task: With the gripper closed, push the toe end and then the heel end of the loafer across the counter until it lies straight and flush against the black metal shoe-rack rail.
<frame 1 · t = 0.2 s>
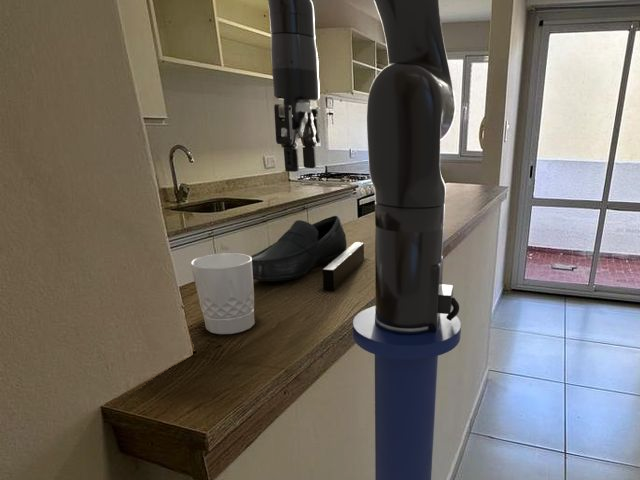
hand: (301, 169, 81), 20 cm above the countertop, tool pointing down, fingers open, 8 cm apart
white cup: (231, 326, 66), on the countertop
loafer: (299, 270, 93), on the countertop
shoe rail: (346, 273, 92), on the countertop
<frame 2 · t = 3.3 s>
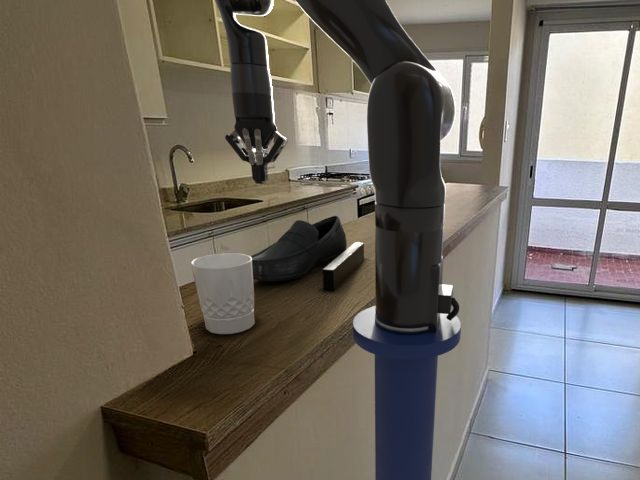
hand: (261, 183, 94), 16 cm above the countertop, tool pointing down, fingers closed
nothing on the countertop moved.
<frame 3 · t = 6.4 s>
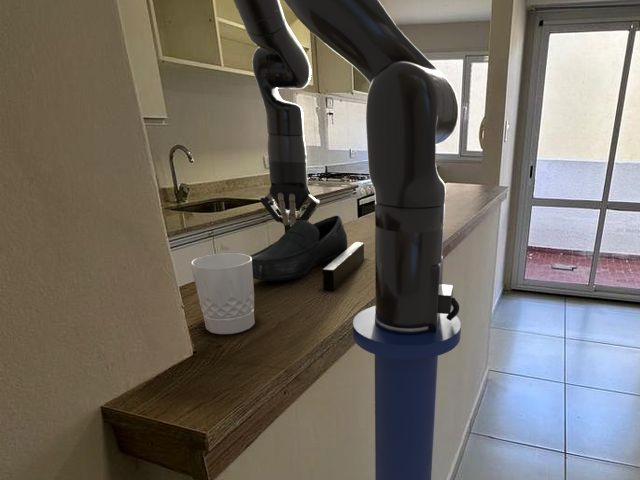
hand: (293, 241, 98), 4 cm above the countertop, tool pointing down, fingers closed
loafer: (299, 270, 93), on the countertop, touching gripper
everything else where it was.
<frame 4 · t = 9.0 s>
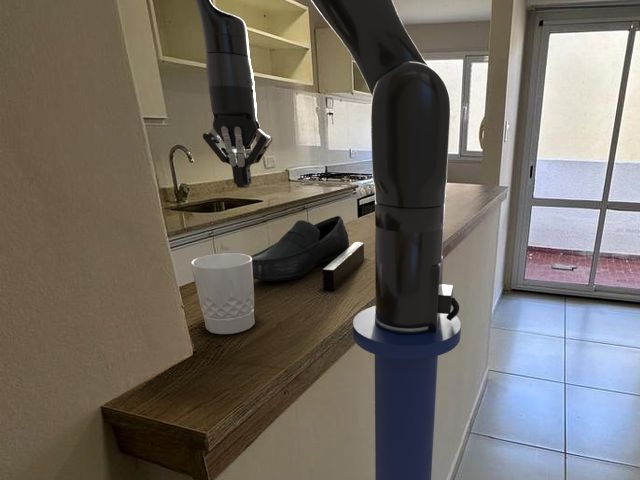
hand: (243, 187, 85), 17 cm above the countertop, tool pointing down, fingers closed
loafer: (301, 270, 93), on the countertop
everything else where it was.
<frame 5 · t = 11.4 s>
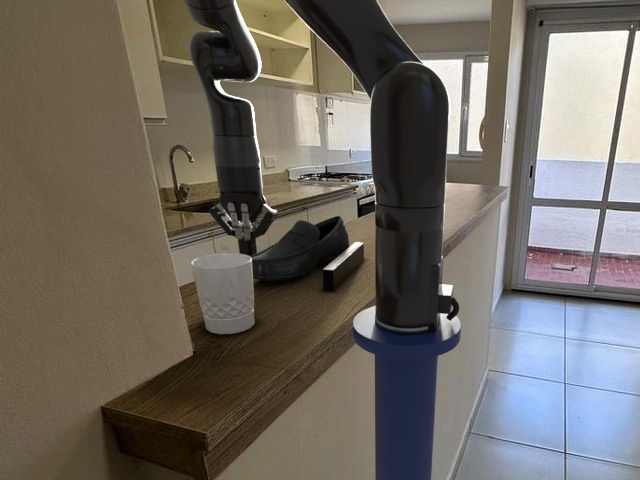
hand: (249, 258, 86), 4 cm above the countertop, tool pointing down, fingers closed
loafer: (301, 270, 93), on the countertop, touching gripper
everything else where it was.
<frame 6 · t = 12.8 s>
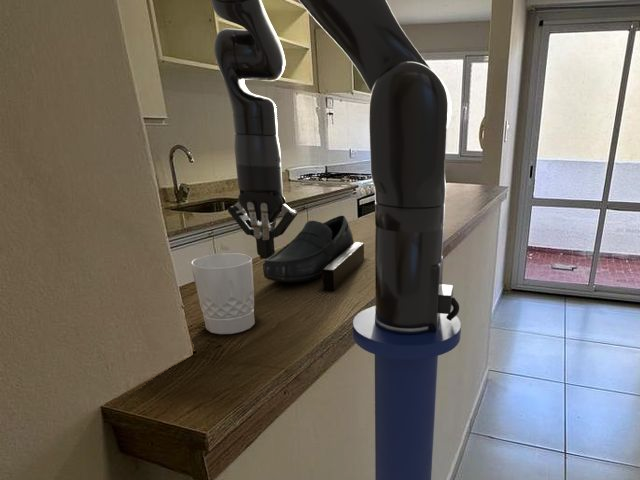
hand: (266, 257, 85), 4 cm above the countertop, tool pointing down, fingers closed
loafer: (312, 271, 93), on the countertop, touching gripper
everything else where it was.
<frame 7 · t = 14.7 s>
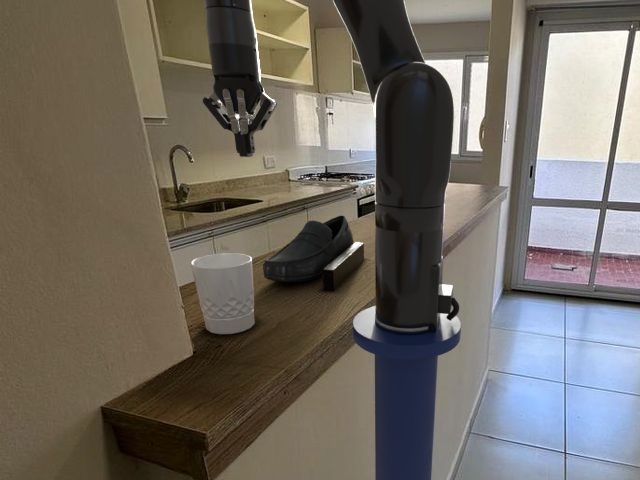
hand: (246, 156, 80), 22 cm above the countertop, tool pointing down, fingers closed
loafer: (312, 271, 93), on the countertop
everything else where it was.
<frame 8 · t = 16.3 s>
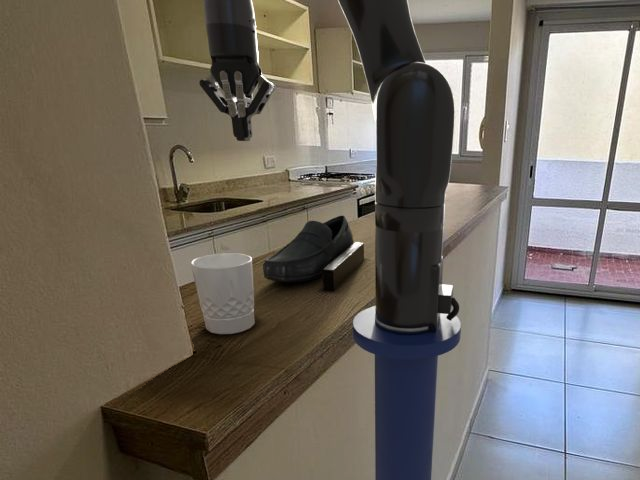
hand: (243, 140, 79), 25 cm above the countertop, tool pointing down, fingers closed
nothing on the countertop moved.
at the end: loafer inside the target area (1.2 cm from its centre), on the countertop; loafer tilted 0°; loafer moved 2.7 cm from its start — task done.
